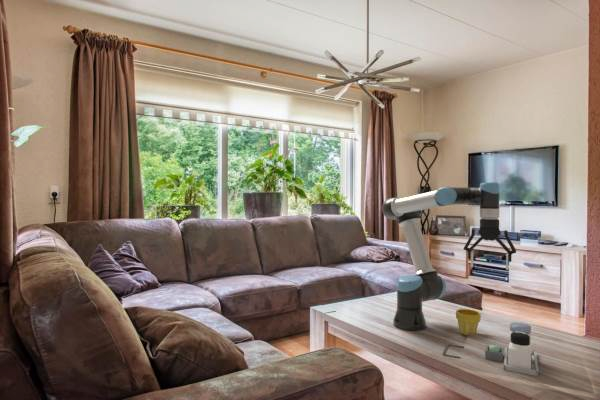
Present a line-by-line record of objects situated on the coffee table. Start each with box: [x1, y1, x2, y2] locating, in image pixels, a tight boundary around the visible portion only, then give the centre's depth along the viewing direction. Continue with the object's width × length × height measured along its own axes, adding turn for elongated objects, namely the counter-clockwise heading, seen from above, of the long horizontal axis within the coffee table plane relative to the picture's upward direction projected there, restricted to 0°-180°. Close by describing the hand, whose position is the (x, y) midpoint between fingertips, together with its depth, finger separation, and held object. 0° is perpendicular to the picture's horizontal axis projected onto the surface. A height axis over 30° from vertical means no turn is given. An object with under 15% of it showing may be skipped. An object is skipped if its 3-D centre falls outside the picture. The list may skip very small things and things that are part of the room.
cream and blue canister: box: [509, 321, 532, 347], centre depth 149 cm, size 7×7×12 cm
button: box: [488, 344, 501, 352], centre depth 149 cm, size 4×4×3 cm
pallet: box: [484, 345, 540, 377], centre depth 146 cm, size 18×22×4 cm
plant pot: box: [455, 308, 482, 336], centre depth 179 cm, size 10×10×10 cm
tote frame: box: [442, 343, 465, 359], centre depth 157 cm, size 13×13×1 cm
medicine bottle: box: [508, 332, 533, 370], centre depth 141 cm, size 7×7×12 cm
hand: (489, 268), depth 168 cm, fingers open, 13 cm apart
